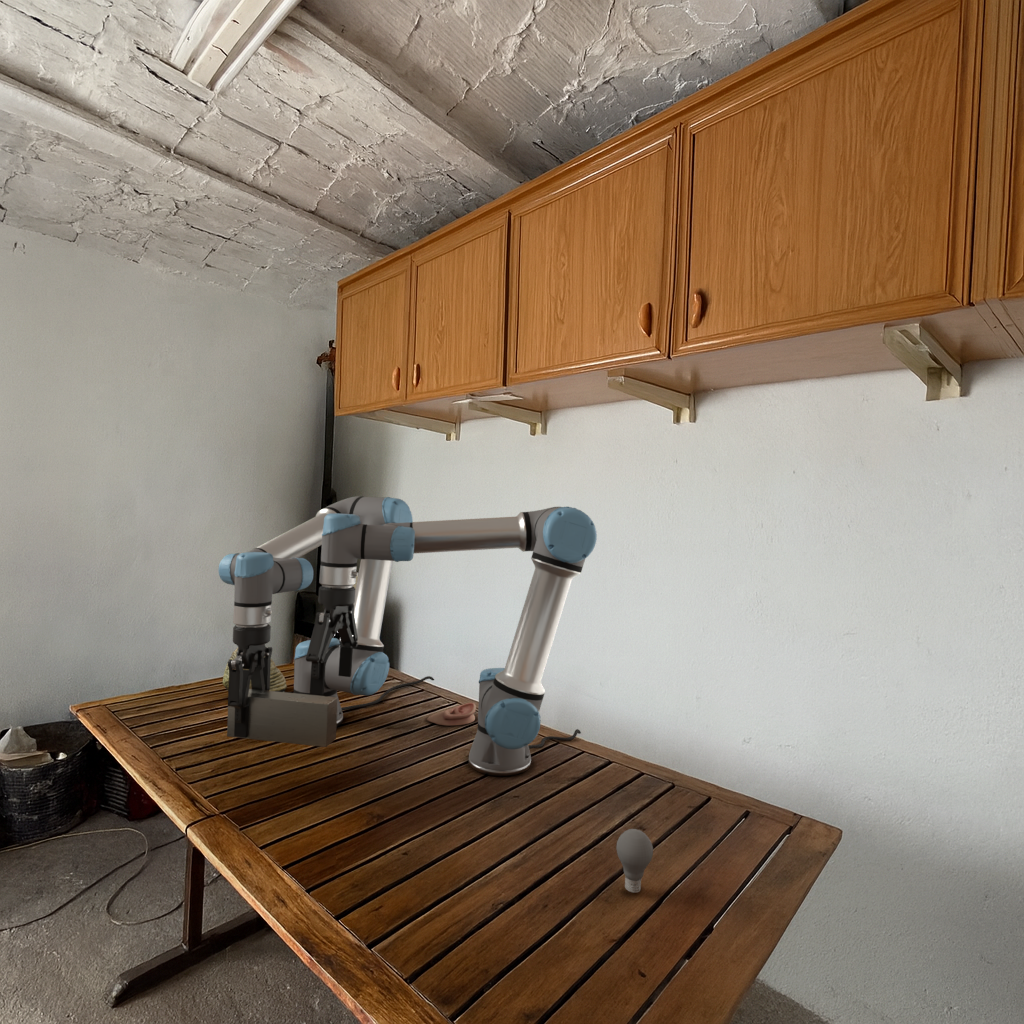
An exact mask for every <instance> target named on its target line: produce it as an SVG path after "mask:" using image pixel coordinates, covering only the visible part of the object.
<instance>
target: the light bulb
mask: <svg viewBox="0 0 1024 1024" xmlns="http://www.w3.org/2000/svg"><path fill="white" fill-rule="evenodd" d="M615 849H616V854H617V857H618V859H619V861H620V863H621V865H622V867H623V873H624V874H623V875H624V876H625V878H624V888H625V890H627V891H628V892H630V893H634V894H635V893H639V892H640V891H641V889H642V887H641V886H642V879H643V877H644V875H645V871H646V868H647V867H648V866H649V864H650V863H651V861H652V859H653V855H654V847H653V843H652V841H651V838H649V836H648V835H647V834H646V833H645V832H643V831H642V830H641V829H636V828H629V829H627V830H625V831H623V832H622V833H621V834H620V835H619V837H618V839H617V841H616V847H615Z"/></svg>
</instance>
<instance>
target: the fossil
mask: <svg viewBox="0 0 1024 1024" xmlns="http://www.w3.org/2000/svg"><path fill="white" fill-rule="evenodd" d="M237 651H238V647H237V648H236V649H235V650H233V651H232V653H231V656H230V657H229V659H228V660H227V663H226V666H225V668H224V671H223V675H222V676H223V677H222V685H223V687H224V688H225V690H226V691H228V688H229V668H228V661H229V660H234V659H235V658H236V654H237ZM243 670H249V669H243ZM287 687H288V686H287V680H286V678H285V676H284V674H283V673H282V672H281V669H279V668H278V667H277V665H276V663H275V662H274V660H273V659H272V658H271V667H270V690H269V691H276V692H286V689H287ZM249 689H252V685H251V681H250V687H249Z"/></svg>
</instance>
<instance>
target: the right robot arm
mask: <svg viewBox="0 0 1024 1024" xmlns="http://www.w3.org/2000/svg"><path fill="white" fill-rule="evenodd" d="M597 533H598V532H597V528H596V525H595V523H594V521H593V520H592V518H591V516H589V515H588V514H587V513H585V512H584V511H582V510H581V509H578V508H576V507H571V506H552V507H548V508H543V509H538V510H531V511H520V512H519V513H518V514H517V515H516V516H503V517H483V518H481V517H480V518H464V519H462V518H461V519H445V520H427V521H425V520H424V521H413V522H406V523H395V522H390V523H385V524H383V525H365V524H360V517H359V516H358V515H353V514H339V513H330V514H327V515H326V516H325V518H324V526H323V533H322V545H321V552H320V568H319V581H318V583H319V584H320V585H321V586H319V587H318V599H317V602H318V604H319V605H321V606H323V607H324V610H323V612H319V611H318V612H316V614H315V621H314V626H313V630H312V634H311V638H310V640H311V641H310V644H309V648H308V652H307V656H306V661H307V662H312V664H311V680H310V693H312V694H321V695H322V694H324V682H325V666H326V662H323V661H324V658H325V656H326V653H327V650H328V648H329V645H330V642H331V639H332V638H334V635H335V634H338V636H339V640H340V642H342V645H343V646H344V647H343V646H341V647H340V659H339V675H338V676H345V677H351V671H352V655H353V647H357V645H358V642H357V641H358V636H357V629H356V623H355V616H354V602H355V591H356V587H355V586H354V585H355V584H357V577H358V574H359V571H357V566H358V560H361V559H372V560H387V561H392V562H396V563H398V562H410V561H412V560H413V559H414V554H430V553H447V552H448V553H449V552H463V551H464V552H468V551H483V550H501V549H502V550H503V549H518V550H520V551H521V552H522V553H523V552H532V554H531V557H530V559H531V561H532V563H533V565H534V571H533V573H532V577H531V580H530V584H529V587H528V590H527V593H526V597H525V600H524V604H523V607H522V610H521V614H520V616H519V620H518V623H517V626H516V630H515V633H514V637H513V639H512V643H511V647H510V650H509V653H508V656H507V660H506V663H505V666H504V667H490V668H485V669H482V670H481V671H480V673H479V680H478V685H479V686H478V687H479V688H478V690H479V691H478V707H477V709H478V710H477V729H476V734H475V736H474V739H473V740H472V741H473V742H472V744H471V747H470V749H469V750H470V751H469V754H468V765H469V767H471V769H473V770H474V771H476V772H478V773H481V774H483V775H487V776H496V777H509V776H510V777H511V776H516V775H519V774H522V773H524V772H526V771H528V770H529V769H530V768H531V765H532V755H531V750H532V749H540V748H543V747H544V746H545V742H546V741H561V742H568V741H573V740H574V739H576V737H577V736H578V734H579V735H581V734H582V732H581V730H580V729H579V728H577V729H575V730H574V732H573V734H572V735H571V736H569V737H563V736H555V735H554V736H553V735H551V736H550V735H549V736H548V735H547V736H544V737H542V739H541V742H540V743H537V744H531V743H532V742H534V741H535V740H536V737H537V736H538V735H539V732H540V729H541V722H542V721H541V714H540V710H541V706H542V703H543V700H544V697H545V693H546V689H545V687H544V686H543V683H542V680H543V676H544V673H545V669H546V666H547V663H548V660H549V658H550V657H549V656H550V653H551V650H552V646H553V644H554V640H555V637H556V633H557V630H558V628H559V627H558V626H559V624H560V620H561V617H562V613H563V610H564V607H565V603H566V600H567V597H568V594H569V591H570V587H571V585H572V584H571V583H572V581H573V579H574V578H576V577H578V576H580V575H581V574H582V572H583V567H584V564H585V561H586V559H587V558H588V557H589V556H590V555H591V553H592V552H593V551H594V549H595V547H596V544H597V541H598V540H597V539H598V538H597V537H598V534H597ZM352 635H353V636H352Z"/></svg>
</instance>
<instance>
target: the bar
mask: <svg viewBox="0 0 1024 1024" xmlns="http://www.w3.org/2000/svg"><path fill="white" fill-rule="evenodd" d="M338 699H339V696H338V697H328V696H318V695H307V694H297V693H294V692H287V691H284V692H276V691H265V690H255V689H249V693H248V699H247V705H246V706H249V719H248V737H246V738H244V737H236V738H238V739H245V740H246V739H247V740H255V741H266V742H275V743H282V744H283V743H285V744H292V745H303V746H311V747H322V748H327V747H328V746H329V745H331V744H332V743H333V742H334V741H336V739H337V727H338V726H337V701H338ZM234 720H235V707H231V706H228V705H227V722H226V723H227V726H226V729H227V730H226V737H229V738H235V737H234V725H235V721H234Z"/></svg>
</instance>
